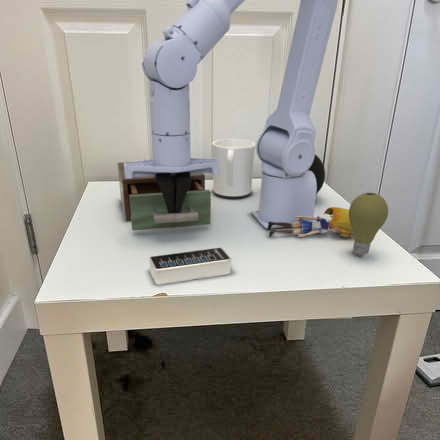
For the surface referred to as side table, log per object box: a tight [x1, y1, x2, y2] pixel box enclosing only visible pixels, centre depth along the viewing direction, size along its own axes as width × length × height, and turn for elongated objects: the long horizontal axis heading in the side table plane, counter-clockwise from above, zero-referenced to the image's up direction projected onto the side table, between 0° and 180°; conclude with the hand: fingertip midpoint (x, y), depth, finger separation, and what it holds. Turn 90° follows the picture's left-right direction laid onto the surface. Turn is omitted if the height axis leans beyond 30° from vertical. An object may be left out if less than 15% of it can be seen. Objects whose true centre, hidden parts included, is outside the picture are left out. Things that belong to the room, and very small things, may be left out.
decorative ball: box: [307, 154, 326, 195], centre depth 91 cm, size 10×10×10 cm
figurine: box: [267, 206, 353, 238], centre depth 76 cm, size 5×5×15 cm
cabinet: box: [117, 161, 206, 222], centre depth 86 cm, size 12×15×8 cm
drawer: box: [129, 180, 212, 232], centre depth 78 cm, size 15×13×6 cm
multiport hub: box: [148, 247, 232, 286], centre depth 64 cm, size 4×11×2 cm, turn 110°
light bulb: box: [348, 192, 389, 258], centre depth 68 cm, size 6×6×10 cm
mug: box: [211, 138, 257, 200], centre depth 93 cm, size 11×9×10 cm
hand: (173, 218), depth 74 cm, fingers closed, pressing on drawer
